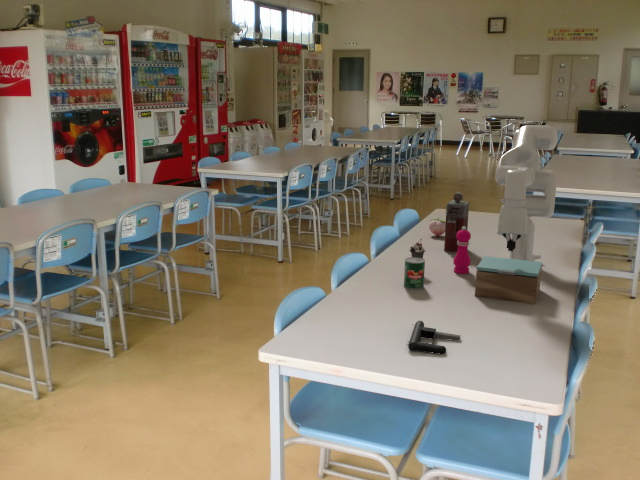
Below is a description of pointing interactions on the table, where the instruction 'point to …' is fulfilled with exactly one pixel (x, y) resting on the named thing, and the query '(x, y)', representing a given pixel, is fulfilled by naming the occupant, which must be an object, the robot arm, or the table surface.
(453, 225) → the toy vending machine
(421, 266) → the canned tomato
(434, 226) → the decorative fruit
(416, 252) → the sundae
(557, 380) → the table surface
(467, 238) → the pepper mill
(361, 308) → the table surface
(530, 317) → the table surface
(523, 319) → the table surface
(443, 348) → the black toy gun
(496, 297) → the box
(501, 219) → the robot arm
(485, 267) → the lid
